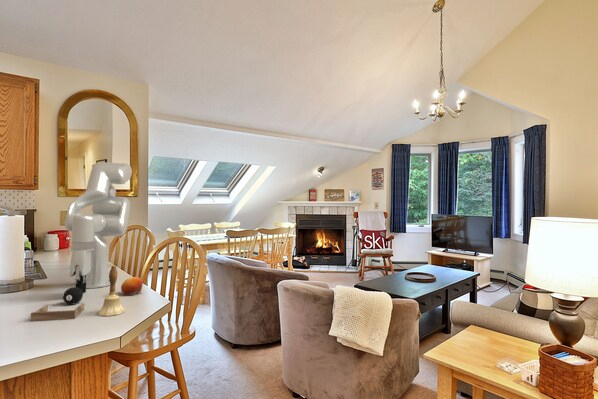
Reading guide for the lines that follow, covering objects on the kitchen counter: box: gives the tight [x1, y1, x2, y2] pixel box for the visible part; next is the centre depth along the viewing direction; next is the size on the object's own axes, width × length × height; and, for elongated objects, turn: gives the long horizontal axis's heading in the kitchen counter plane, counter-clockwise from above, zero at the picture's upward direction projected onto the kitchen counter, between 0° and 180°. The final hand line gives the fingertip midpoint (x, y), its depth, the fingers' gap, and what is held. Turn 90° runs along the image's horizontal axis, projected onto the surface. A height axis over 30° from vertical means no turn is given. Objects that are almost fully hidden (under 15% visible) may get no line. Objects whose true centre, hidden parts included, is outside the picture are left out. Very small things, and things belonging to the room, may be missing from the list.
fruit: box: [120, 276, 143, 296], centre depth 140 cm, size 8×8×8 cm
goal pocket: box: [30, 303, 86, 322], centre depth 112 cm, size 10×12×2 cm
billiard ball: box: [62, 286, 84, 305], centre depth 125 cm, size 6×6×6 cm
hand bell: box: [97, 265, 126, 317], centre depth 117 cm, size 8×8×16 cm
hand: (80, 292), depth 133 cm, fingers closed
